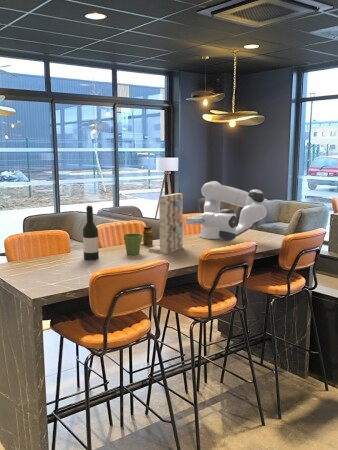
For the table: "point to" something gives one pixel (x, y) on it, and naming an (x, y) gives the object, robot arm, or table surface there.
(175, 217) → the terracotta button
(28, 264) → the table surface
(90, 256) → the wine bottle
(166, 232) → the tall patterned box
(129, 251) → the plant pot
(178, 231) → the sage button
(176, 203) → the slate button
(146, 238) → the condiment
